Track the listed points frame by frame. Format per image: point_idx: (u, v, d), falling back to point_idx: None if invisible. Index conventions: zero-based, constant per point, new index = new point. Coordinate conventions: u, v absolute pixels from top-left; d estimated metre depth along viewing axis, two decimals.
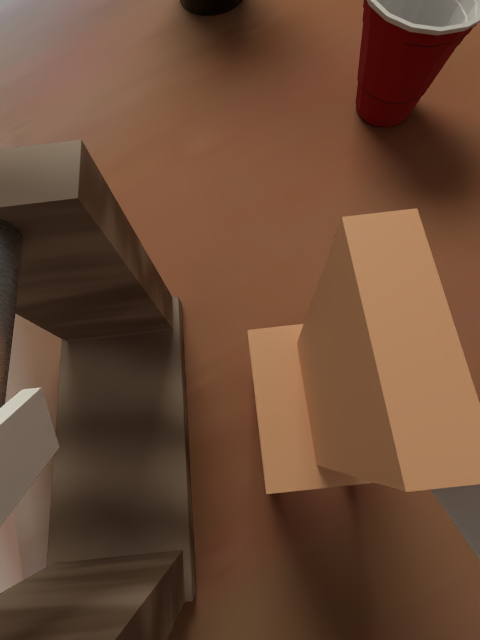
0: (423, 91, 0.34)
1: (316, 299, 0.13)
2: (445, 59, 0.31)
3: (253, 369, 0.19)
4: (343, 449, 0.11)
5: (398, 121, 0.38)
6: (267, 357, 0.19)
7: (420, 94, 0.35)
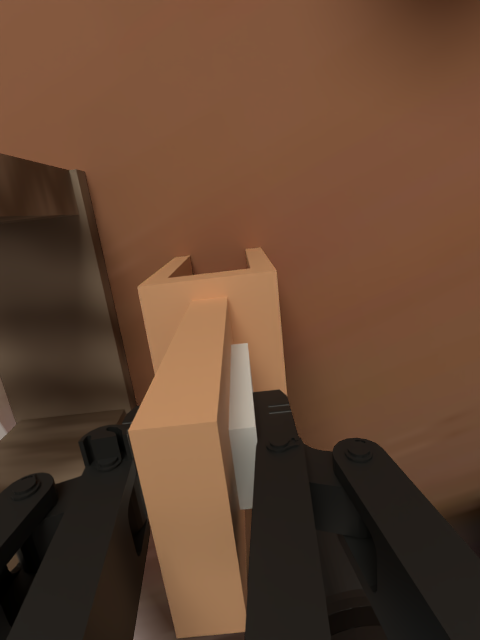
0: None
1: None
2: None
3: (147, 328, 0.18)
4: None
5: None
6: (160, 316, 0.18)
7: None
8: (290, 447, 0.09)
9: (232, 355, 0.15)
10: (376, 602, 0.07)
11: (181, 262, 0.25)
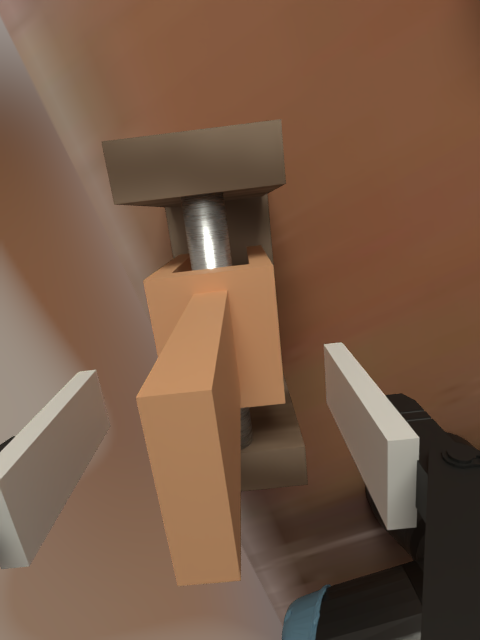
0: None
1: None
2: None
3: (152, 319, 0.19)
4: None
5: None
6: (164, 308, 0.19)
7: None
8: (474, 465, 0.08)
9: (334, 356, 0.14)
10: None
11: (185, 259, 0.26)
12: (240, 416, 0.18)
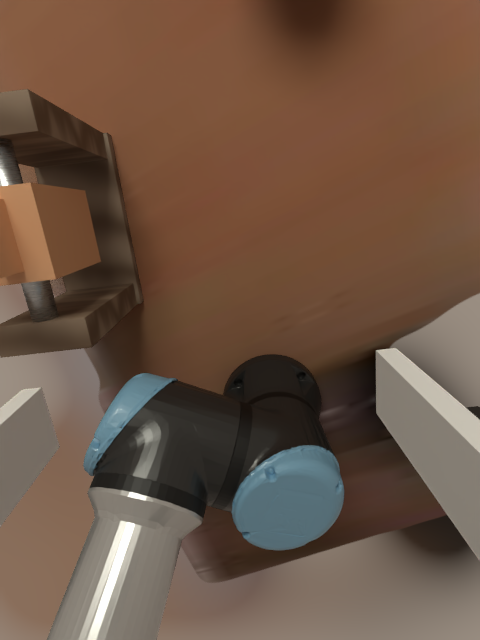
0: None
1: None
2: None
3: None
4: None
5: None
6: None
7: None
8: None
9: (392, 364, 0.12)
10: None
11: None
12: (7, 276, 0.29)
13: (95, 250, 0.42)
